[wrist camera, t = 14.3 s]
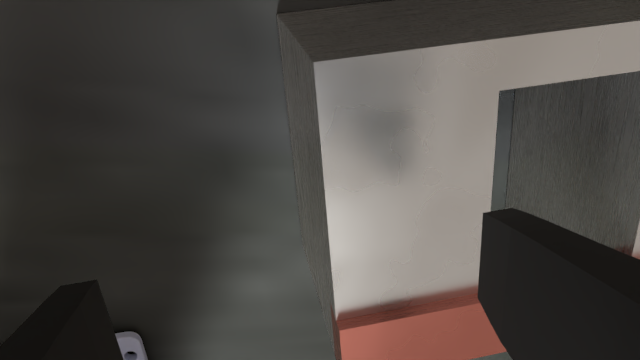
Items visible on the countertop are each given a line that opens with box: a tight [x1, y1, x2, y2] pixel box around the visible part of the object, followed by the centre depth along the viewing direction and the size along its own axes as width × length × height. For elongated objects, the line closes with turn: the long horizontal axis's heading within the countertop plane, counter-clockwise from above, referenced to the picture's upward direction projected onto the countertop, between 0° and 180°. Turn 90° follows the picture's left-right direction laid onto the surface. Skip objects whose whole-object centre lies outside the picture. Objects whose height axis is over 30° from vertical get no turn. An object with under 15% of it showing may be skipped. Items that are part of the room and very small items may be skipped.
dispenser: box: [276, 0, 640, 360], centre depth 17 cm, size 9×13×7 cm
